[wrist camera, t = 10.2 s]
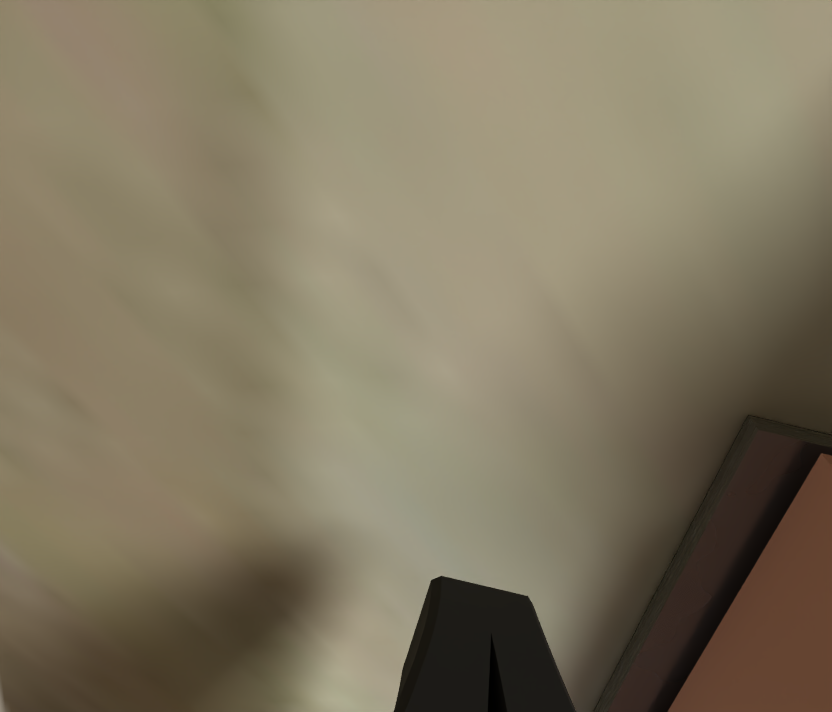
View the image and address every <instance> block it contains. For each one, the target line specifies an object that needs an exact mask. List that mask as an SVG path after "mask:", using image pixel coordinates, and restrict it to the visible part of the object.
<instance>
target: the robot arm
mask: <svg viewBox="0 0 832 712" xmlns="http://www.w3.org/2000/svg"><path fill="white" fill-rule="evenodd" d="M394 712H576V710H575V708H574V705H573V703H572V701H571V699H570V696H569V694H568V692H567V689H566V687H565V684H564V682H563V680H562V677H561V675H560V672H559V670H558V668H557V665H556V663H555V660H554V658H553V655H552V653H551V650H550V648H549V645H548V643H547V640H546V638H545V635H544V633H543V630H542V627H541V625H540V622H539V620H538V617H537V614H536V612H535V609H534V606H533V604H532V602H531V601H530V599H529V597H528V596H525V595H521V594H516V593H512V592H508V591H503V590H499V589H495V588H491V587H486V586H482V585H478V584H474V583H469V582H465V581H461V580H457V579H452V578H448V577H444V576H440V577H438V578H435V579H433V580H431V583H430V586H429V589H428V592H427V595H426V598H425V601H424V604H423V608H422V611H421V614H420V617H419V620H418V623H417V626H416V629H415V632H414V635H413V639H412V642H411V645H410V648H409V651H408V654H407V657H406V660H405V663H404V666H403V670H402V676H401V682H400V687H399V692H398V697H397V701H396V705H395V709H394Z"/></svg>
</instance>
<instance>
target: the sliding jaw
mask: <svg viewBox="0 0 832 712" xmlns="http://www.w3.org/2000/svg"><path fill="white" fill-rule="evenodd" d="M668 712H832V456H831V455H827V454H823V453H821V455H820V456H819V458H818V460H817V461H816V463H815V465H814V466H813V468H812V470H811V471H810V473H809V475H808V476H807V478H806V480H805V481H804V483H803V485H802V486H801V488H800V490H799V492H798V493H797V495H796V497H795V498H794V500H793V502H792V503H791V505H790V507H789V508H788V510H787V512H786V513H785V515H784V517H783V518H782V520H781V522H780V523H779V525H778V527H777V529H776V530H775V532H774V534H773V535H772V537H771V539H770V540H769V542H768V544H767V545H766V547H765V549H764V550H763V552H762V554H761V555H760V557H759V559H758V560H757V562H756V564H755V566H754V567H753V569H752V571H751V572H750V574H749V576H748V577H747V579H746V581H745V582H744V584H743V586H742V587H741V589H740V591H739V592H738V594H737V596H736V597H735V599H734V601H733V603H732V604H731V606H730V608H729V609H728V611H727V613H726V614H725V616H724V618H723V619H722V621H721V623H720V624H719V626H718V628H717V629H716V631H715V633H714V634H713V636H712V638H711V640H710V641H709V643H708V645H707V646H706V648H705V650H704V651H703V653H702V655H701V656H700V658H699V660H698V661H697V663H696V665H695V666H694V668H693V670H692V671H691V673H690V675H689V677H688V678H687V680H686V682H685V683H684V685H683V687H682V688H681V690H680V692H679V693H678V695H677V697H676V698H675V700H674V702H673V703H672V705H671V707H670V708H669V710H668Z"/></svg>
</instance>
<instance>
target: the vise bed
mask: <svg viewBox="0 0 832 712" xmlns="http://www.w3.org/2000/svg"><path fill="white" fill-rule="evenodd" d="M821 453H823V454H827V455H831V456H832V435H828V434H824V433H820V432H816V431H812V430H808V429H804V428H800V427H796V426H791V425H787V424H783V423H779V422H775V421H771V420H767V419H763V418H759V417H755V416H750V415H748V417H747V419H746V421H745V423H744V424H743V426H742V428H741V430H740V432H739V434H738V436H737V438H736V440H735V442H734V444H733V446H732V447H731V449H730V451H729V453H728V455H727V457H726V459H725V461H724V463H723V465H722V467H721V469H720V470H719V472H718V474H717V476H716V478H715V480H714V482H713V484H712V486H711V488H710V490H709V492H708V493H707V495H706V497H705V499H704V501H703V503H702V505H701V507H700V509H699V511H698V513H697V515H696V516H695V518H694V520H693V522H692V524H691V526H690V528H689V530H688V532H687V534H686V536H685V538H684V539H683V541H682V543H681V545H680V547H679V549H678V551H677V553H676V555H675V557H674V559H673V561H672V562H671V564H670V566H669V568H668V570H667V572H666V574H665V576H664V578H663V580H662V582H661V584H660V585H659V587H658V589H657V591H656V593H655V595H654V597H653V599H652V601H651V603H650V605H649V606H648V608H647V610H646V612H645V614H644V616H643V618H642V620H641V622H640V624H639V626H638V628H637V629H636V631H635V633H634V635H633V637H632V639H631V641H630V643H629V645H628V647H627V649H626V651H625V652H624V654H623V656H622V658H621V660H620V662H619V664H618V666H617V668H616V670H615V672H614V674H613V675H612V677H611V679H610V681H609V683H608V685H607V687H606V689H605V691H604V693H603V695H602V697H601V698H600V700H599V702H598V704H597V706H596V708H595V710H594V712H668V710H669V708H670V707H671V705H672V703H673V702H674V700H675V698H676V697H677V695H678V693H679V692H680V690H681V688H682V687H683V685H684V683H685V682H686V680H687V678H688V677H689V675H690V673H691V671H692V670H693V668H694V666H695V665H696V663H697V661H698V660H699V658H700V656H701V655H702V653H703V651H704V650H705V648H706V646H707V645H708V643H709V641H710V640H711V638H712V636H713V634H714V633H715V631H716V629H717V628H718V626H719V624H720V623H721V621H722V619H723V618H724V616H725V614H726V613H727V611H728V609H729V608H730V606H731V604H732V603H733V601H734V599H735V597H736V596H737V594H738V592H739V591H740V589H741V587H742V586H743V584H744V582H745V581H746V579H747V577H748V576H749V574H750V572H751V571H752V569H753V567H754V566H755V564H756V562H757V560H758V559H759V557H760V555H761V554H762V552H763V550H764V549H765V547H766V545H767V544H768V542H769V540H770V539H771V537H772V535H773V534H774V532H775V530H776V529H777V527H778V525H779V523H780V522H781V520H782V518H783V517H784V515H785V513H786V512H787V510H788V508H789V507H790V505H791V503H792V502H793V500H794V498H795V497H796V495H797V493H798V492H799V490H800V488H801V486H802V485H803V483H804V481H805V480H806V478H807V476H808V475H809V473H810V471H811V470H812V468H813V466H814V465H815V463H816V461H817V460H818V458H819V456H820V455H821Z"/></svg>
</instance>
